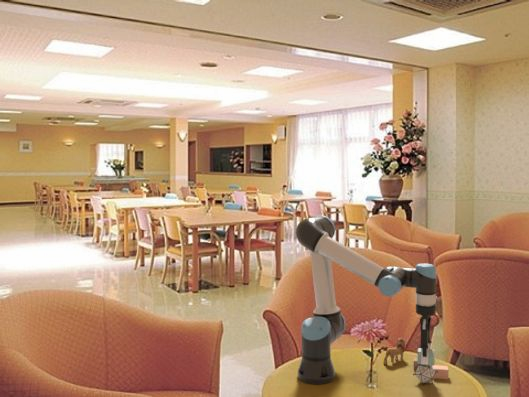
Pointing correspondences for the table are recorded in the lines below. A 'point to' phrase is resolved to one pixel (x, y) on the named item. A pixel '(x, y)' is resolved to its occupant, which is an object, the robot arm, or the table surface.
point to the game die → (425, 373)
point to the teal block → (430, 357)
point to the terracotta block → (441, 371)
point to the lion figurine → (395, 351)
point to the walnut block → (417, 363)
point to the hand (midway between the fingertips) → (425, 361)
